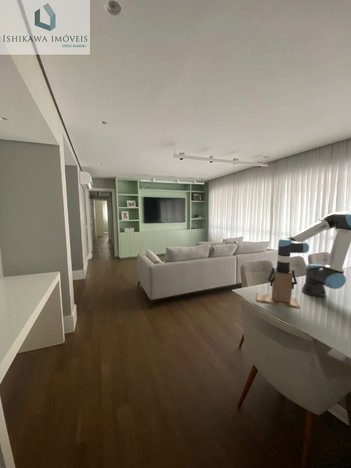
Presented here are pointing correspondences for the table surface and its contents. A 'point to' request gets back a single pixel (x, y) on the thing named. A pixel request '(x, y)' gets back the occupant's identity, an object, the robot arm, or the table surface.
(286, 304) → the board
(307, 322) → the table surface
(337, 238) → the robot arm
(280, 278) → the block
